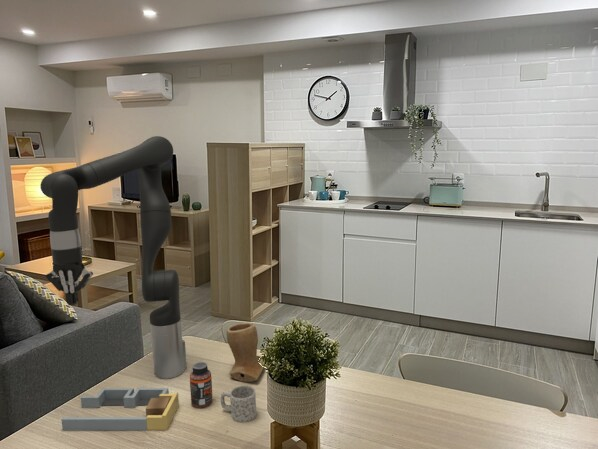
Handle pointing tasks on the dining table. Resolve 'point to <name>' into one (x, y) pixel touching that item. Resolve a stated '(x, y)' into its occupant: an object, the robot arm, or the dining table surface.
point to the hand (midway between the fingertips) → (73, 304)
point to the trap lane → (114, 398)
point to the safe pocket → (164, 414)
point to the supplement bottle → (201, 385)
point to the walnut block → (157, 406)
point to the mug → (241, 403)
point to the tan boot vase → (244, 352)
